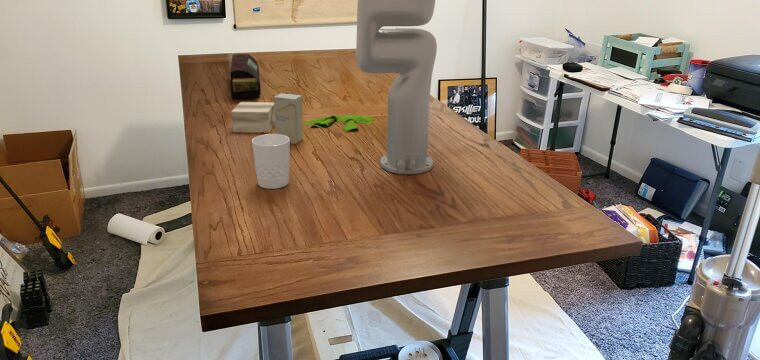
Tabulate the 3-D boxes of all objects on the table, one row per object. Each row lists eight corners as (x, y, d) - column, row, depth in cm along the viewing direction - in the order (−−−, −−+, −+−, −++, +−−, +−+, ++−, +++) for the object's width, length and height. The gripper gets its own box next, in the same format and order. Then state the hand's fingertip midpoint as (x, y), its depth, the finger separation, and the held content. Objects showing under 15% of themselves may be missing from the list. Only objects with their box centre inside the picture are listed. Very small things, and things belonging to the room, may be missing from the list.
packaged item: (261, 102, 184) (259, 71, 180) (230, 103, 182) (227, 72, 178) (259, 75, 219) (257, 49, 215) (234, 76, 217) (231, 50, 213)
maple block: (269, 133, 155) (267, 112, 152) (233, 132, 155) (231, 111, 153) (276, 122, 164) (275, 102, 162) (242, 121, 164) (240, 101, 162)
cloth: (381, 119, 170) (382, 111, 169) (360, 142, 150) (360, 134, 149) (318, 113, 175) (318, 105, 174) (289, 134, 155) (289, 126, 154)
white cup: (275, 173, 128) (272, 131, 124) (299, 182, 124) (297, 139, 120) (247, 183, 122) (244, 140, 119) (271, 193, 118) (268, 148, 114)
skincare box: (275, 141, 148) (272, 96, 143) (282, 136, 152) (280, 92, 147) (297, 144, 146) (294, 98, 141) (304, 139, 150) (302, 94, 145)
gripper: (361, -47, 147) (361, 20, 154) (425, -46, 150) (422, 20, 157) (357, -47, 154) (357, 17, 161) (418, -47, 157) (416, 17, 164)
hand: (389, 18), depth 159 cm, fingers open, 9 cm apart
